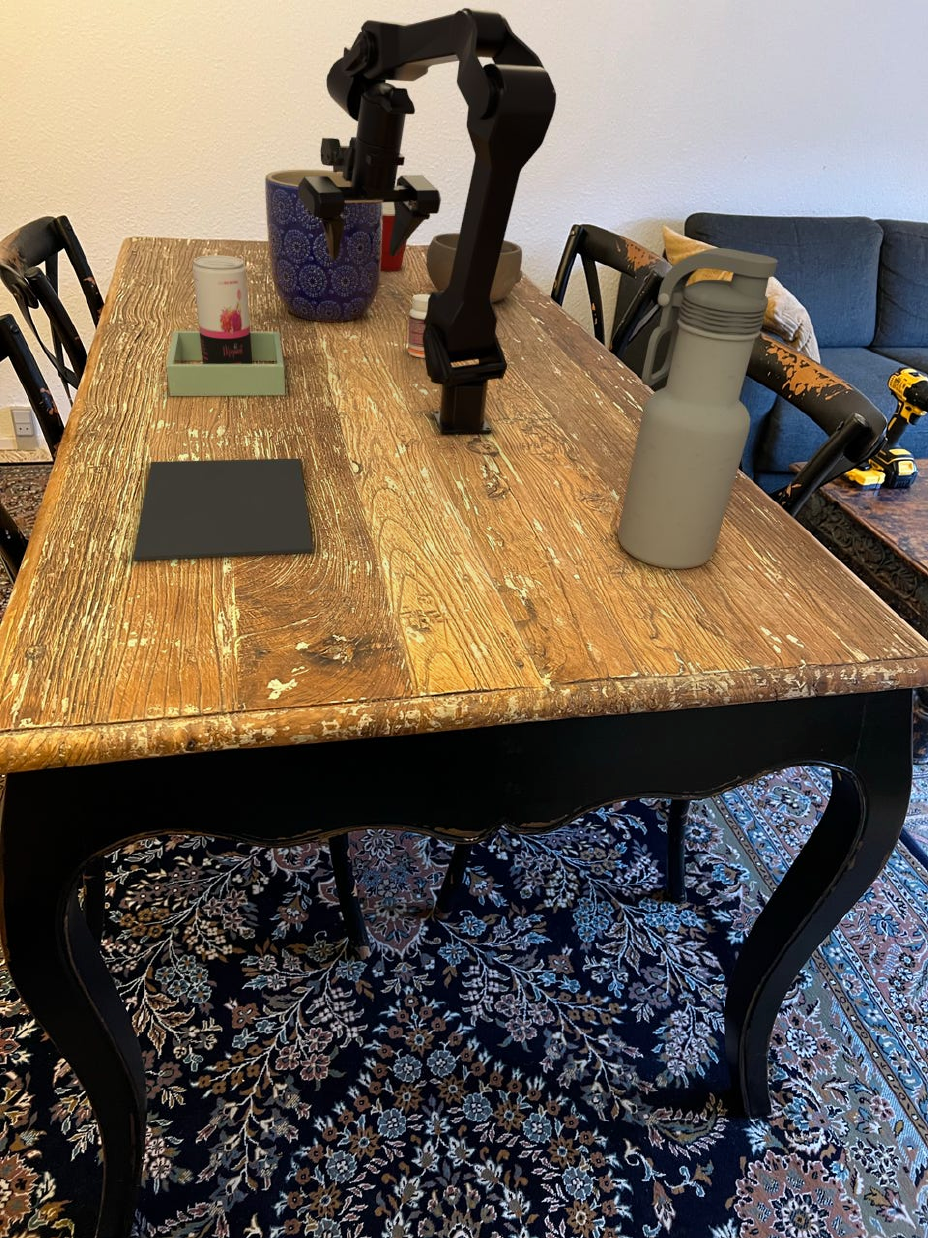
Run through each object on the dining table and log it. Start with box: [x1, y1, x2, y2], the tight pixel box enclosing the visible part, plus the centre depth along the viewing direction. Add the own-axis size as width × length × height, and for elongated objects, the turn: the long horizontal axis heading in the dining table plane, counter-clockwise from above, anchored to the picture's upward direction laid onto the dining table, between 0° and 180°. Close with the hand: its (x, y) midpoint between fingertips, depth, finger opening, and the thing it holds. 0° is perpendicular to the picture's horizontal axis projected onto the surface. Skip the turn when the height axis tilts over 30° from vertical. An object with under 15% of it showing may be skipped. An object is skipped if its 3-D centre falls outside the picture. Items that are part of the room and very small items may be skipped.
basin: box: [165, 330, 286, 397], centre depth 114 cm, size 15×15×4 cm
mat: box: [132, 458, 314, 562], centre depth 85 cm, size 20×16×1 cm
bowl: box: [425, 232, 523, 304], centre depth 155 cm, size 17×18×10 cm
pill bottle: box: [407, 293, 431, 359], centre depth 127 cm, size 5×5×8 cm
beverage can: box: [192, 254, 254, 364], centre depth 111 cm, size 7×7×15 cm
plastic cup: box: [380, 202, 408, 272], centre depth 169 cm, size 11×11×12 cm
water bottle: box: [617, 247, 779, 570], centre depth 77 cm, size 10×10×28 cm
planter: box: [264, 169, 383, 323], centre depth 137 cm, size 18×18×21 cm
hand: (363, 257), depth 117 cm, fingers open, 9 cm apart
